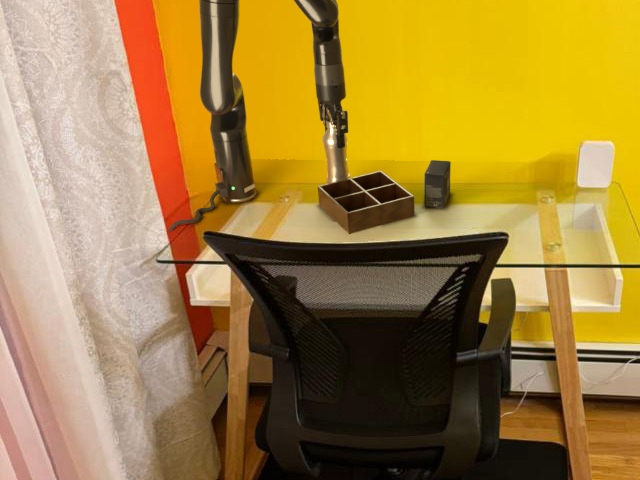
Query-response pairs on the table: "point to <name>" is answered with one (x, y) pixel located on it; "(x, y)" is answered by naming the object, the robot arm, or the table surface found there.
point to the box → (437, 184)
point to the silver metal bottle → (335, 156)
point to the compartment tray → (366, 201)
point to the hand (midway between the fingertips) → (335, 142)
